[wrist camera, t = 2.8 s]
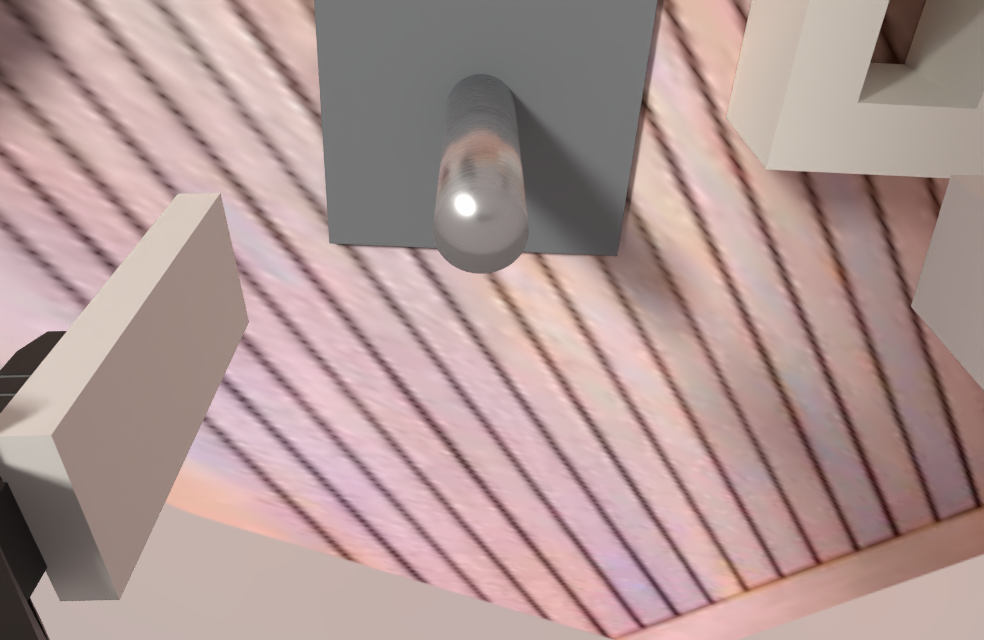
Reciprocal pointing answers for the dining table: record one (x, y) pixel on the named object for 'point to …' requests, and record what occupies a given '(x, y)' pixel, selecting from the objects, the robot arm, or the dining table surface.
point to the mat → (538, 102)
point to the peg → (480, 179)
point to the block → (861, 90)
